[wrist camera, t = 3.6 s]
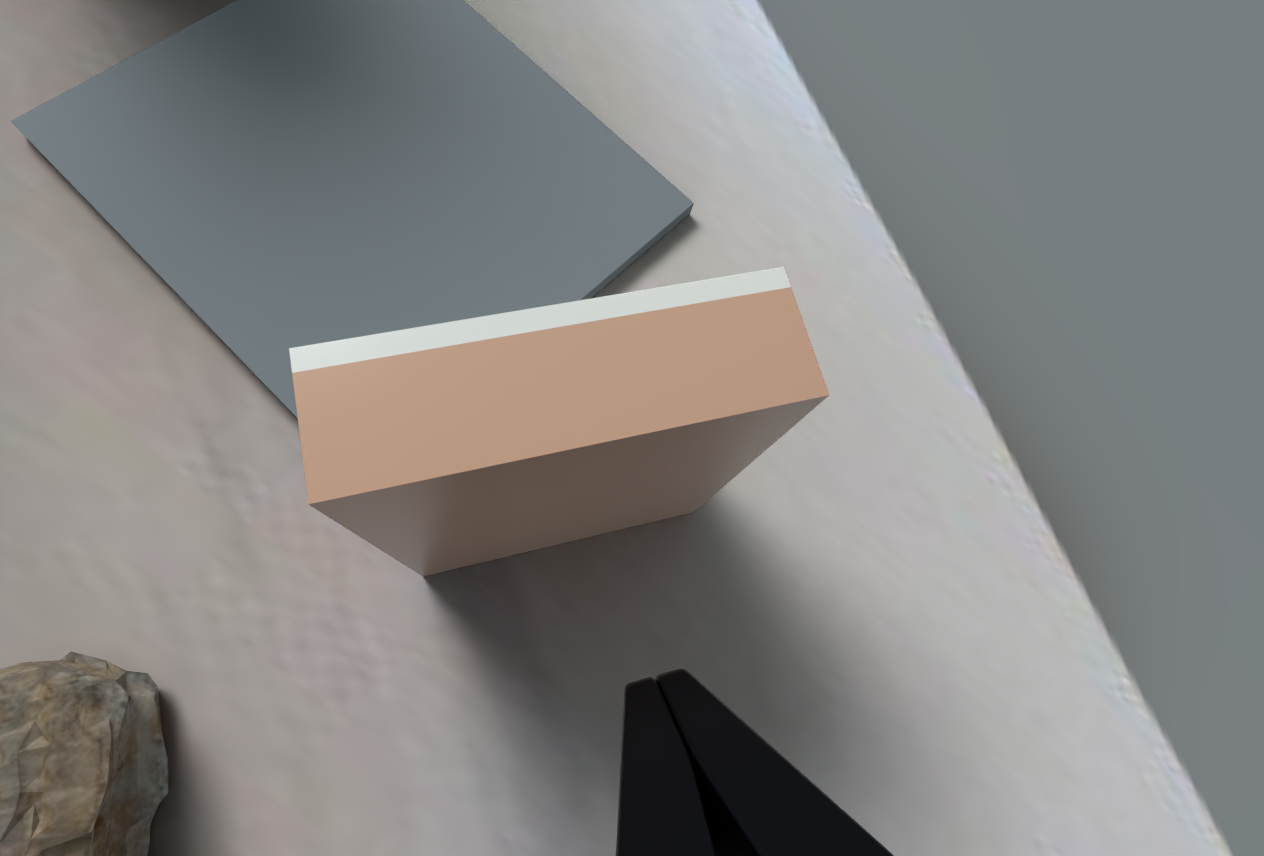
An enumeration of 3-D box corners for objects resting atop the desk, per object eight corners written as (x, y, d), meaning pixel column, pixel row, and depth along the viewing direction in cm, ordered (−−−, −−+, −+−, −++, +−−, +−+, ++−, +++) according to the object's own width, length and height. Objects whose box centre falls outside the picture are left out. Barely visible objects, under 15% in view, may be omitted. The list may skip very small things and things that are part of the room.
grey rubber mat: (689, 213, 24) (693, 202, 23) (367, 490, 19) (362, 485, 19) (381, -60, 26) (377, -76, 25) (24, 135, 21) (10, 121, 21)
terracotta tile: (694, 512, 20) (829, 395, 11) (423, 576, 19) (308, 503, 9) (672, 437, 21) (783, 266, 12) (409, 493, 19) (289, 348, 10)
